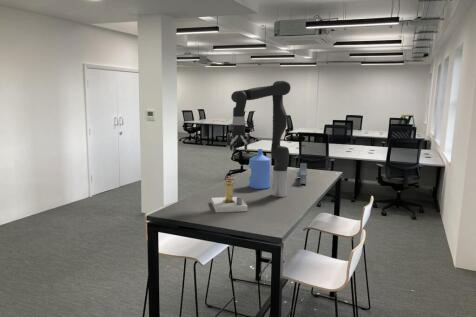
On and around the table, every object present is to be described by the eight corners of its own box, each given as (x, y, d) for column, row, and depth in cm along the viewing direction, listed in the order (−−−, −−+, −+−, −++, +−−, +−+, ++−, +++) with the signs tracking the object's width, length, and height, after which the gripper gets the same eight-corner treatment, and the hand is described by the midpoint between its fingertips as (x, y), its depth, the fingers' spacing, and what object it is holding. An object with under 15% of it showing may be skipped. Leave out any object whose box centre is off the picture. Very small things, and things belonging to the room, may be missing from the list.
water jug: (274, 186, 285) (275, 149, 281) (262, 190, 273) (263, 151, 269) (256, 183, 294) (257, 147, 290) (244, 187, 282) (245, 149, 278)
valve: (221, 206, 229) (221, 178, 226) (228, 204, 232) (228, 177, 230) (229, 208, 224) (229, 179, 222) (235, 206, 228) (236, 178, 226)
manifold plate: (211, 202, 237) (211, 191, 236) (240, 201, 241) (240, 190, 240) (215, 212, 216) (215, 200, 215) (247, 211, 219) (247, 199, 218)
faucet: (296, 191, 314) (299, 182, 286) (296, 172, 319) (299, 161, 291) (304, 192, 314) (308, 183, 285) (304, 172, 319) (307, 161, 290)
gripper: (228, 124, 231) (228, 151, 233) (251, 124, 233) (251, 150, 236) (226, 123, 238) (226, 149, 240) (248, 123, 241) (248, 149, 243)
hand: (238, 150), depth 238 cm, fingers open, 8 cm apart
